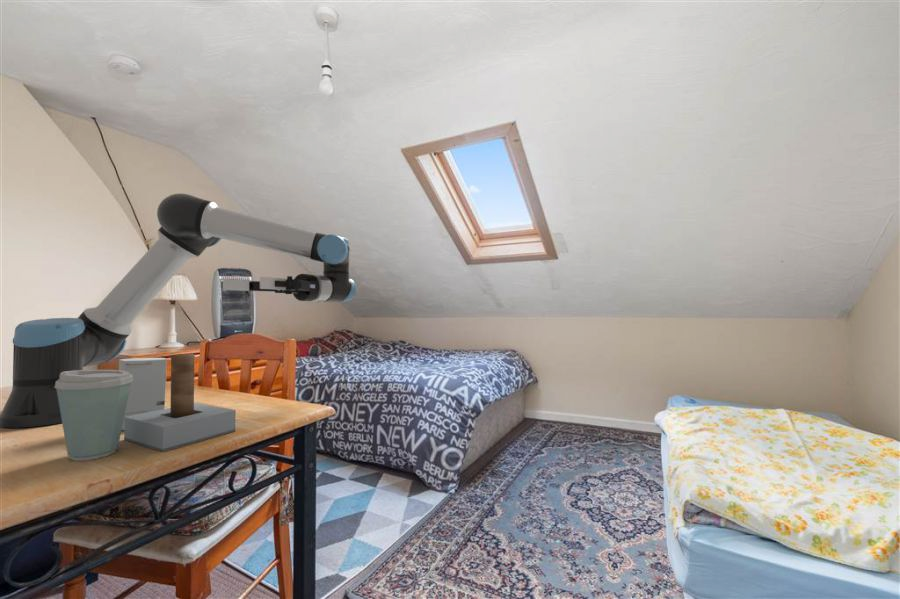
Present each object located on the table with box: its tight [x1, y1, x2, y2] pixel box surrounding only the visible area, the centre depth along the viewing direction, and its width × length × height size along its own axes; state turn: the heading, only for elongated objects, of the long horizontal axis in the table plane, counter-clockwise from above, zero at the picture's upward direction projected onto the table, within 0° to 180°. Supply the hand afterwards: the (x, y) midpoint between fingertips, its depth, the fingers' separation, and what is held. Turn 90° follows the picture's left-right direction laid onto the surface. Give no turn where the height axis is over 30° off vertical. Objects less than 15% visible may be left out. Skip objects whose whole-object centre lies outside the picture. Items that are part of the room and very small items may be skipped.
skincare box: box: [118, 357, 168, 432], centre depth 90 cm, size 8×6×15 cm
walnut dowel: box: [170, 353, 195, 418], centre depth 83 cm, size 4×4×16 cm
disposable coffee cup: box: [55, 369, 133, 462], centre depth 71 cm, size 11×11×15 cm
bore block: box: [123, 402, 236, 453], centre depth 82 cm, size 14×14×4 cm
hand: (241, 283), depth 94 cm, fingers open, 13 cm apart
